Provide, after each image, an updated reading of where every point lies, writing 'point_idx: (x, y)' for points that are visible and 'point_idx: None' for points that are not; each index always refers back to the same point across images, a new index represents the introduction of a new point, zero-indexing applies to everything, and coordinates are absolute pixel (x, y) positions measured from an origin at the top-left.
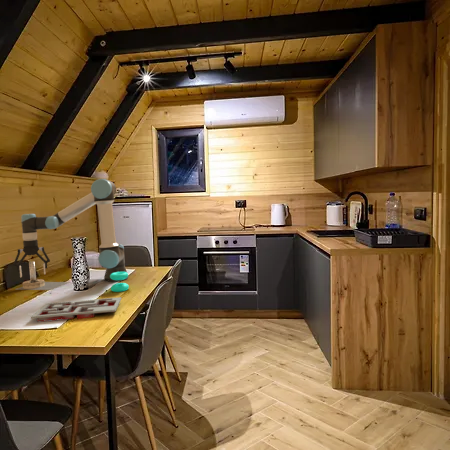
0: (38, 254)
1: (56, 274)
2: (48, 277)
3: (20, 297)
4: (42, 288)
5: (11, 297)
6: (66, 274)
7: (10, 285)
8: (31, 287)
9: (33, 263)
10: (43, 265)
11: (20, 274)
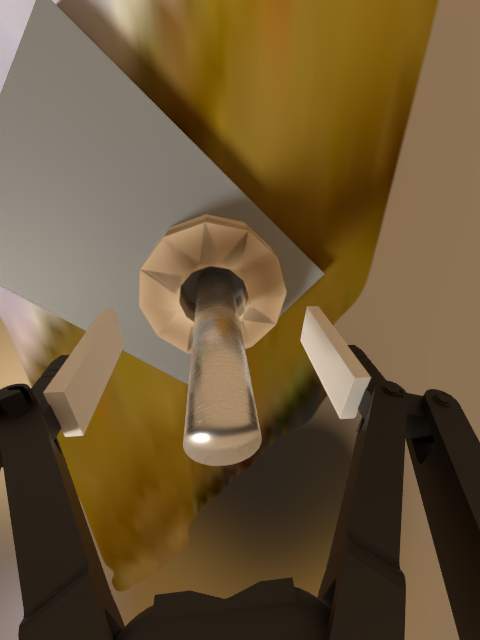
0: (38, 609)
1: (128, 499)
2: (156, 471)
3: (320, 11)
4: (147, 157)
5: (372, 87)
6: (79, 487)
7: (311, 416)
8: (230, 221)
9: (200, 405)
10: (93, 404)
11: (324, 319)
